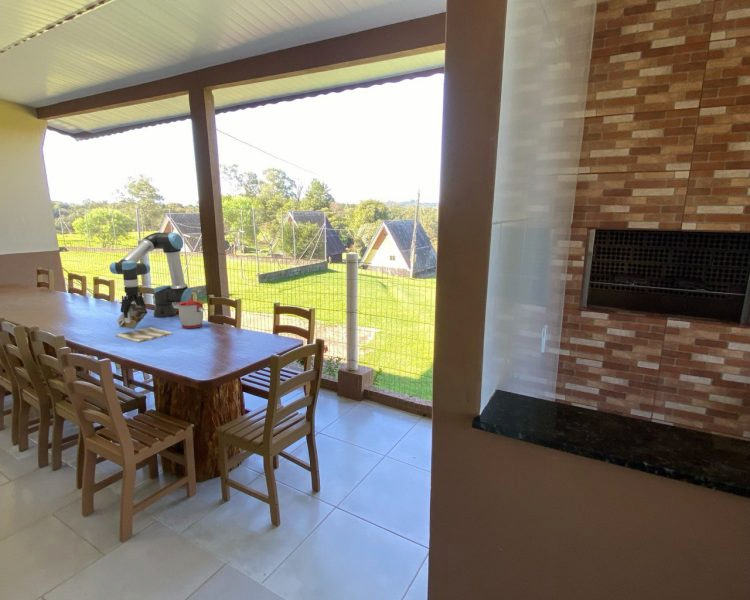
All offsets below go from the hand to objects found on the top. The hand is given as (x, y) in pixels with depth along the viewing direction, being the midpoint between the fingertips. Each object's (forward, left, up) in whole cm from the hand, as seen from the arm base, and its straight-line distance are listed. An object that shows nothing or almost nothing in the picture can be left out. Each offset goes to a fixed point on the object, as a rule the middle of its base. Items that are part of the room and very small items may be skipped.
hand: (134, 320), depth 239 cm
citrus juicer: (-32, +12, -10) cm, 35 cm away
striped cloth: (-2, +6, -9) cm, 11 cm away
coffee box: (+2, -7, -3) cm, 8 cm away
